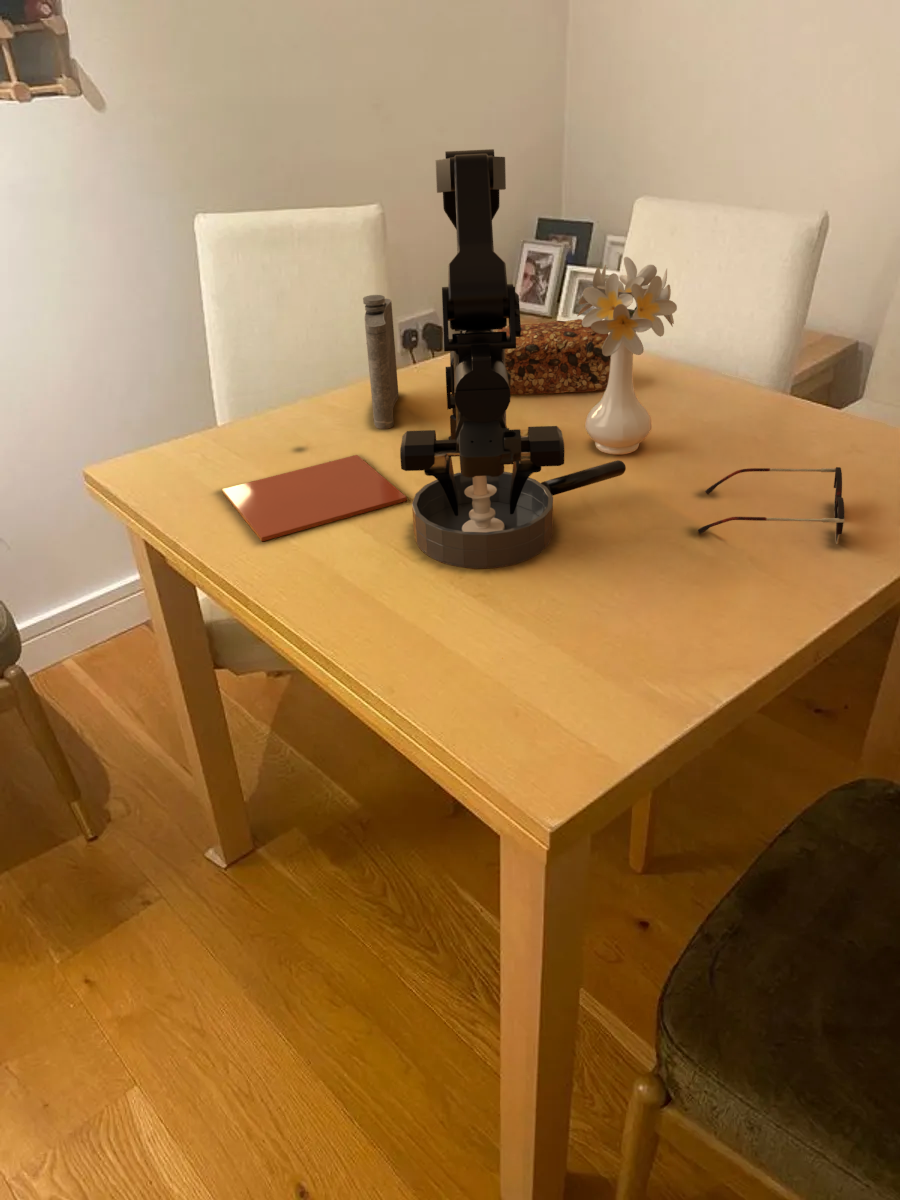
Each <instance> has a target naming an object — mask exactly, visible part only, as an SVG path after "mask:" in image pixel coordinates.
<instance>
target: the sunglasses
mask: <svg viewBox="0 0 900 1200" xmlns="http://www.w3.org/2000/svg"><path fill="white" fill-rule="evenodd" d="M750 472H821V473H834V481H833V489H835V491H834V501H833V502H834V503H833V515H834V517H823V518H794V517H793V518H792V517H791V518H790V517H765V516H730V517H727V518H723V519H720V520H717V521H714V522H711V523H708V524H706V525H703V526H702V527H700V528H698V529H697V532H698V533H699V534H700V535H701V534H702V533H705V532H706V531H708V530H709V529H711V528H713V527H716V526H719V525H721V524H724V523H728V522H731V521H755V522H756V521H757V522H758V521H760V522H761V521H762V522H763V521H764V522H765V521H766V522H767V521H768V522H770V521H771V522H813V523H815V522H816V523H818V522H820V523H835V544H839V541H840V535H843V530H844V523H845V502H844V498H843V471H842V468H841V467H840V466H836V467H834V468H833V467H832V468H830V467H829V468H825V467H823V468H774V467H773V468H772V467H771V468H770V467H767V468H765V467H764V468H763V467H759V468H758V467H754V468H753V467H752V468H751V467H750V468H749V467H748V468H741V469H737V470H735V471H733V472H731V473H730V474H728V475H726V476H725V477H723V478H721V479H720V480H718V481H717V482H715V483H713V484H711V485H710V486H709V487H708V488H707V489H705V491H704V492H705V494H706V495H710V494H711V493H712V492H713V491H714V490H715V489H716V488H717V487H718V486H719V485H721V484H722V483H724V482H726V481H728V480H729V479H730V478H732V477H734V476H735V475H738V474H741V473H750Z"/></svg>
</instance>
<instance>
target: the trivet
mask: <svg viewBox="0 0 900 1200" xmlns="http://www.w3.org/2000/svg"><path fill="white" fill-rule="evenodd" d="M221 491H222V494H223V495H224V497H225V498H226V499H227V500H228V501H229V503H230V504H231V505H232V506H233V508H234V509H235V510H236V511H237V513H238V514H239V515H240V517H241V518H242V519H243V520H244V521H245V522H246V524H247V525H248V526H249V527H250V528H251V530H252V531H253V533H255V535H256V536H257V537H258V539H259V540H260V541H261V542H265V541H269V540H272V539H276V538H280V537H284V536H287V535H290V534H294V533H297V532H301V531H305V530H308V529H313V528H315V527H318V526H322V525H327V524H330V523H333V522H336V521H341V520H345V519H347V518H351V517H355V516H358V515H361V514H365V513H369V512H372V511H375V510H379V509H383V508H387V507H389V506H394V505H397V504H402V503H404V502H407V501H408V499H407V496H406V495H405V494H404V493H403V492H401V491H400V490H399V489H398V488H397V487H396V486H394V485H393V484H392V483H391V482H390V481H388V479H386V478H385V477H384V476H383V475H381V474H380V473H379V472H378V471H376V469H374V468H373V467H372V466H371V465H369V464H368V463H367V462H366V461H365V460H364V459H362V458H361V457H360V456H359V455H358V454H355V455H351V456H347V457H343V458H339V459H335V460H331V461H327V462H323V463H319V464H316V465H311V466H308V467H305V468H300V469H296V470H291V471H288V472H284V473H280V474H276V475H273V476H268V477H264V478H261V479H257V480H253V481H252V480H251V481H248V482H245V483H242V484H237V485H233V486H229V487H225V488H221Z"/></svg>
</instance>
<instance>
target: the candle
mask: <svg viewBox="0 0 900 1200" xmlns="http://www.w3.org/2000/svg"><path fill="white" fill-rule="evenodd" d="M496 491H497V489H496V487H495V486H493V485H490V484H487V479H486V476H475V477H473V485H472V486H469V487H467V488H466V489H465V491H464V493H465V495H466V496H468V497H470V498H472V500H473V501H472V506H473V509H472V510H471V511H470V512H469V517H470V519H471V520H469V521H467V522H466V523H464V525H463V526H462V531H463V532H493V531H501V530H504V529H505V526H504V523H503V522H502V521H501V520H499V519H497V518H494V517H495V510H494V509H493V508H490V505H491V502H490V496H492V495H494V494H495V493H496Z"/></svg>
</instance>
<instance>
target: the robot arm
mask: <svg viewBox="0 0 900 1200" xmlns="http://www.w3.org/2000/svg"><path fill="white" fill-rule="evenodd" d="M444 157H445V158H442V159H441V158H440V159H436V160H435V180H436V184H435V185H436V193H437V194H439V193H442V203H443V204H442V206H443V211H444V213H445V215H446V216H447V218H448V219H449V221H450V222H451V224H452V226H453V227H454V229H455V230H456V249H457V250H456V251H457V253H456V254H455V256H454V257H453V258H452V260H450V261H449V263H448V265H447V284H448V285H447V286H441V301H442V302H441V303H442V305H441V306H442V328H443V329H442V330H443V331H442V332H443V351H444V352H449V362H450V363H449V365H450V366H445V389H446V391H445V392H446V407H447V410H452V414H450V416H449V427H450V435H449V436H448V439H437V433H436V429H424V430H406V431H405V432H404V434H403V435H402V436H401V443H400V449H399V456H400V458H399V459H400V467H401V468H400V469H401V470H403V471H405V472H417V471H418V472H419V471H423V472H424V475H425V476H428V477H434V478H435V480H438V481H439V482H440V484H441V486H442V487H443V489H444V491H445V493H446V496H447V498H448V500H449V503H450V505H451V507H452V510H453V512H454V514H455V516H458V515H459V510H458V496H457V490H456V483H455V477H454V474H455V472H454V471H455V470H454V465H453V460H452V457H459V467H460V473H461V474H462V475H463V476H464V477H468V478H472V477H475V476H491V477H497V476H500V475H502V474H503V473H504V472H505V466H506V465H512V470H511V473H512V479H511V489H510V514H514V511H515V508H516V505H517V502H518V500H519V497H520V494H521V491H522V489H523V486H524V484H525V482H526V481H527V479H528V477H529V478H530V477H531V475H532V474H534V473H540V472H541V471H542V467H543V468H544V467H561V466H563V465H565V442H564V437H563V432H562V429H560V428H559V427H558V425H541V426H540V425H539V426H527V435H524V436H523V435H522V433H521V429H520V428H518V429H510V428H509V427H508V426H507V409H508V408H509V405H510V403H511V395H512V394H510V386H511V375H510V374H509V373H508V372H507V369H506V365H505V349H515V348H516V337H521V325H522V324H521V309H520V307H521V306H520V294H518V293H517V292H516V286H514V284H513V283H508V277H507V265H506V264H507V263H506V262H505V261H504V260H503V259H502V258H501V257H500V256H499V255H498V254H497V253H496V252H495V249H494V247H495V246H494V231H493V220H494V218H495V216H496V215H497V213H498V211H499V209H500V191H505V190H506V189H507V182H506V181H507V178H506V177H507V175H506V156H496V155H495V149H494V148H491V149H487V148H486V149H469V150H448V151H447V150H446V151H445V156H444ZM506 326H509V334H510V336H509V337H507V332H505V331H503V332H496V330H499V329H503V327H506ZM449 329H451V330H452V331H454V332H459V333H452V334H451V338H450V337H449V336H450V334H449V333H450V331H449ZM494 330H495V331H494Z"/></svg>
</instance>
